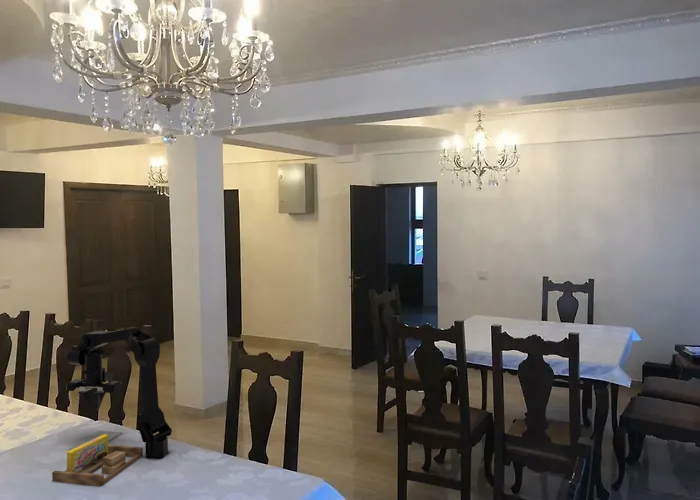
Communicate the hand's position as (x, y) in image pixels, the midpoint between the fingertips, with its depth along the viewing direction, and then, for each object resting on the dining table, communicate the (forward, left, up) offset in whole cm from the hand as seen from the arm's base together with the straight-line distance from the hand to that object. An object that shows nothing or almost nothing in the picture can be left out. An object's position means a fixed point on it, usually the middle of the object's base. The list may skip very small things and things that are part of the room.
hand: (94, 409), depth 202 cm
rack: (-11, +20, -12) cm, 26 cm away
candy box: (-11, +20, -12) cm, 26 cm away
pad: (0, 0, -12) cm, 12 cm away
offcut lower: (-20, +20, -12) cm, 31 cm away
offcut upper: (-20, +19, -10) cm, 30 cm away
